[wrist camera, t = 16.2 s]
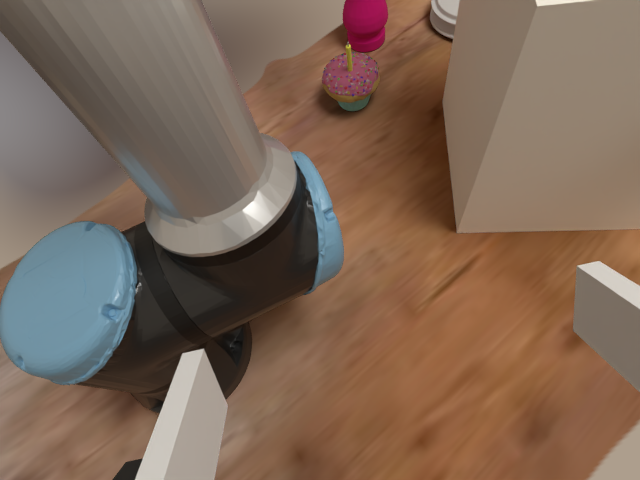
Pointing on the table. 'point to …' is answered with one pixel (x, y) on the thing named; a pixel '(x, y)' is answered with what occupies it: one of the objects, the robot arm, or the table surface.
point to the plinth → (544, 115)
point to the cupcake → (351, 79)
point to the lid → (444, 16)
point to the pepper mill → (365, 23)
